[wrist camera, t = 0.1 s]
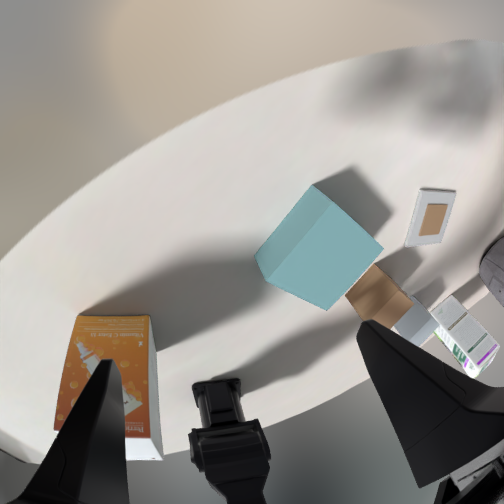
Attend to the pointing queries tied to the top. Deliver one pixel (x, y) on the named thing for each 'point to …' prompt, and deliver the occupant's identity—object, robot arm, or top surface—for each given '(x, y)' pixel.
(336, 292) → the teal base block
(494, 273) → the soft grey pack
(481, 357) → the syrup box
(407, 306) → the walnut cube
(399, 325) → the grey cube
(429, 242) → the tile
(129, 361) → the small box
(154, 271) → the top surface
